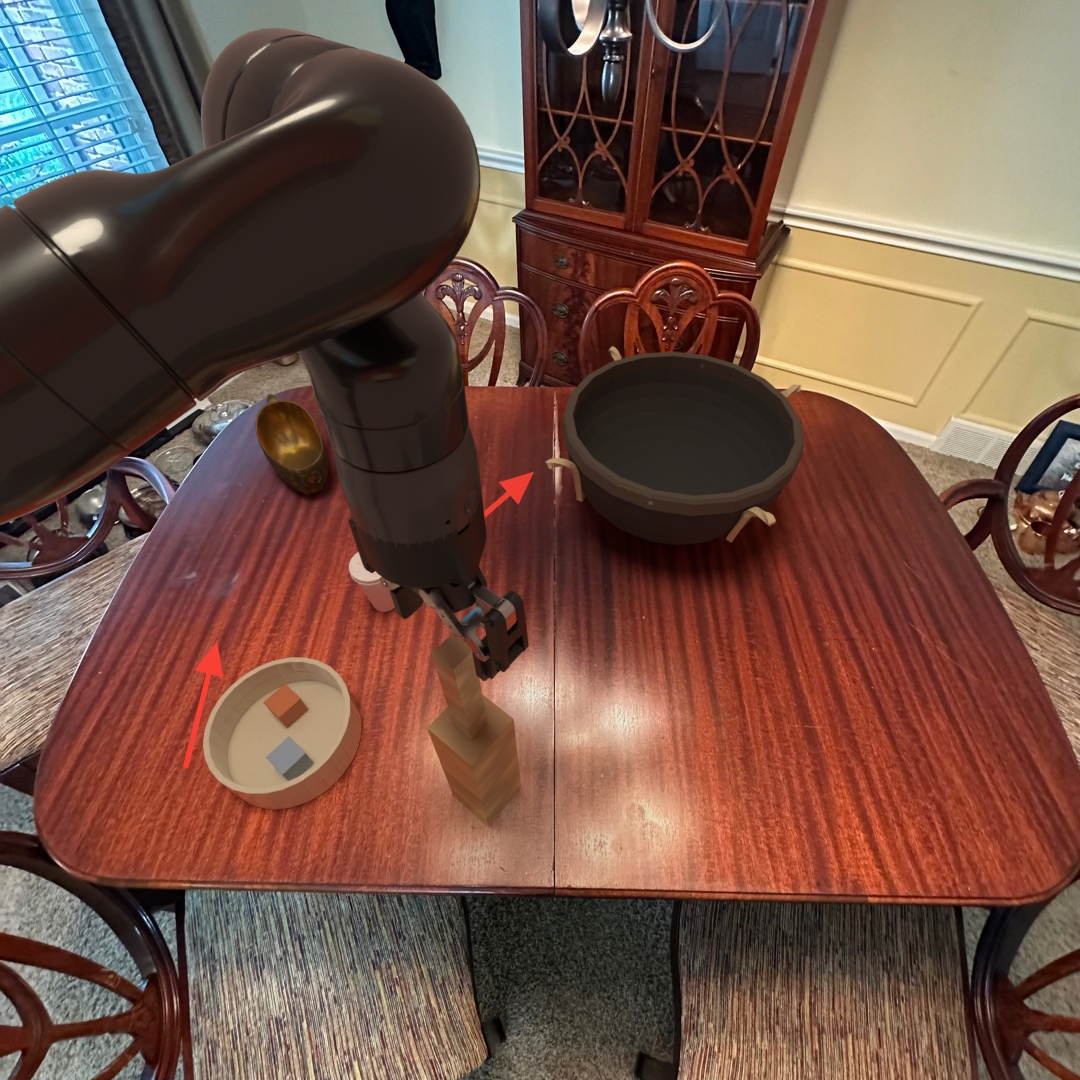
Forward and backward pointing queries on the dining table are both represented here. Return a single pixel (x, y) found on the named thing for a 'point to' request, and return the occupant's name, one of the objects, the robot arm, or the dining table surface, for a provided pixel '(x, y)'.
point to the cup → (292, 444)
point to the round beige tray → (282, 733)
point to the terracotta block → (286, 705)
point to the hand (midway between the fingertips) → (449, 639)
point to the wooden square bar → (460, 685)
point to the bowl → (680, 445)
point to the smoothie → (371, 585)
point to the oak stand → (479, 761)
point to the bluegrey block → (289, 759)
